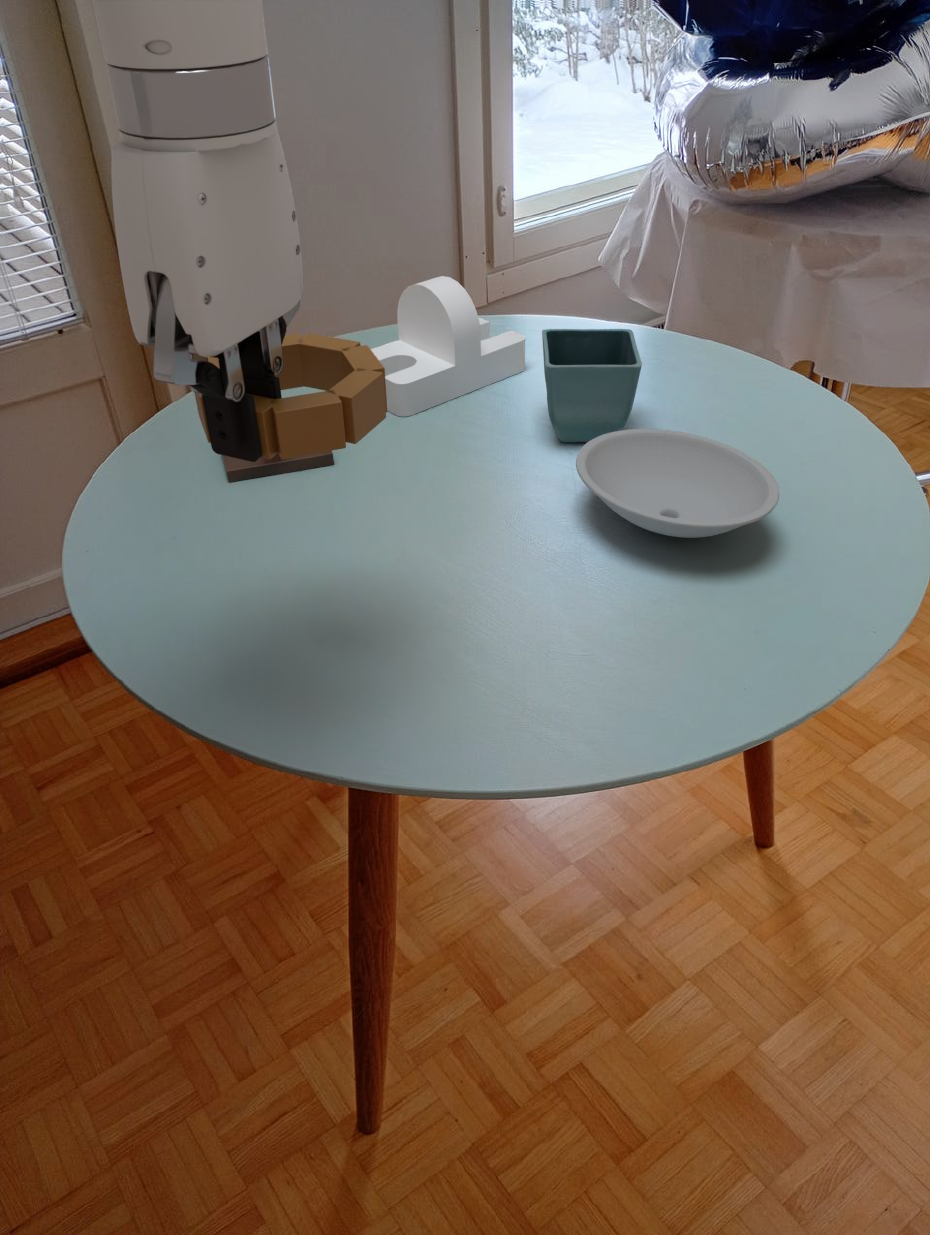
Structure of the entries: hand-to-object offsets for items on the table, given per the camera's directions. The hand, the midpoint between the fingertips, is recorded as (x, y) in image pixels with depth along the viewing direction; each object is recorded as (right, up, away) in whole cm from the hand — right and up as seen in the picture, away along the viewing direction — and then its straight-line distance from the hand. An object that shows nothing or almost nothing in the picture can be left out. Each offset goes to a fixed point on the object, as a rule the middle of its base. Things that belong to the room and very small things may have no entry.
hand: (249, 444), depth 58 cm
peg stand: (-6, +6, +38) cm, 39 cm away
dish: (+30, -2, +26) cm, 40 cm away
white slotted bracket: (+10, +16, +50) cm, 54 cm away
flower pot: (+25, +8, +40) cm, 47 cm away
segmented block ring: (+2, +2, +3) cm, 5 cm away
